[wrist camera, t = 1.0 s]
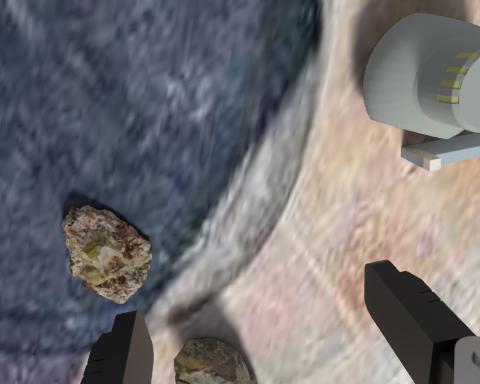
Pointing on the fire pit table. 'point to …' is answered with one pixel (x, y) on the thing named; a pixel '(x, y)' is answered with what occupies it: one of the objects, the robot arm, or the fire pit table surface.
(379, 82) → the air freshener
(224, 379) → the rock
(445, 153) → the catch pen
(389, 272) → the robot arm
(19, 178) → the fire pit table surface
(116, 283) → the mineral rock
